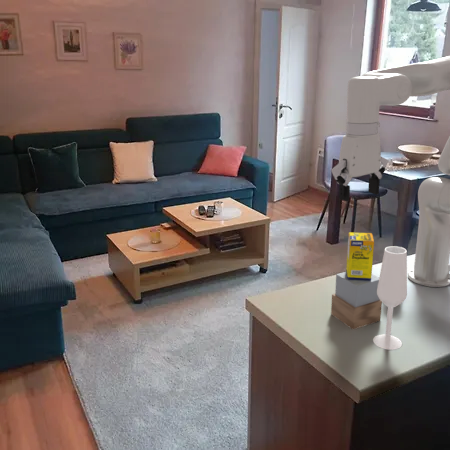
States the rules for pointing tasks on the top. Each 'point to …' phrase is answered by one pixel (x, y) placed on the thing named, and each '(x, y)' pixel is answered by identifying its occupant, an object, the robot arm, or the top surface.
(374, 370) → the top surface
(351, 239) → the supplement box
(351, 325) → the tower base block
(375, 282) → the tower top block
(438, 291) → the top surface
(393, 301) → the champagne flute
